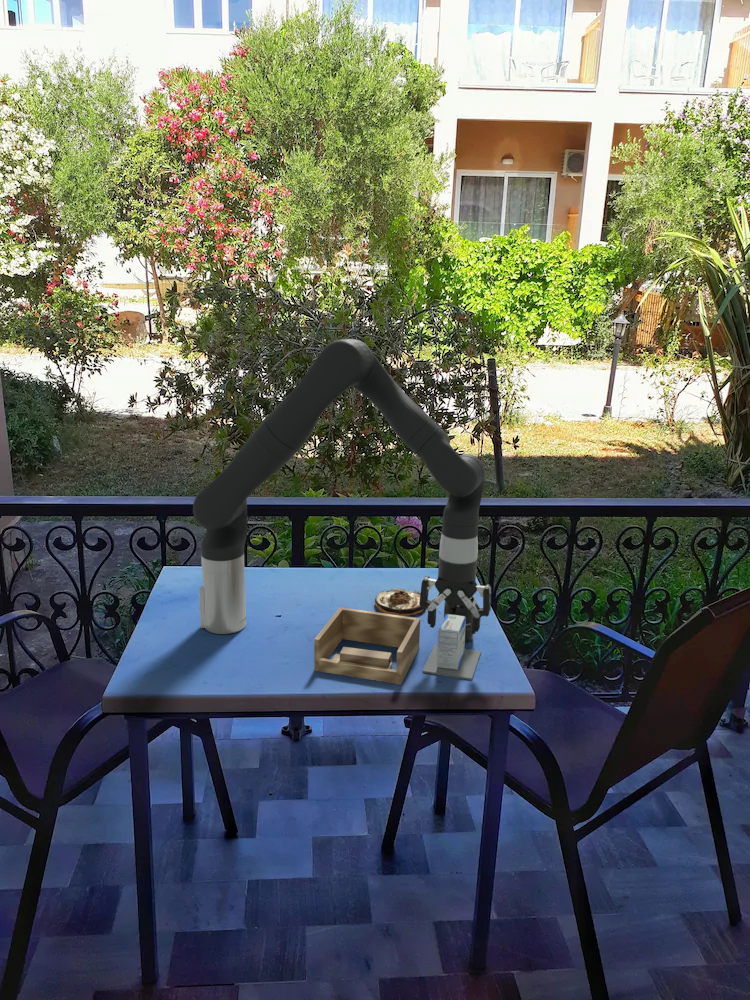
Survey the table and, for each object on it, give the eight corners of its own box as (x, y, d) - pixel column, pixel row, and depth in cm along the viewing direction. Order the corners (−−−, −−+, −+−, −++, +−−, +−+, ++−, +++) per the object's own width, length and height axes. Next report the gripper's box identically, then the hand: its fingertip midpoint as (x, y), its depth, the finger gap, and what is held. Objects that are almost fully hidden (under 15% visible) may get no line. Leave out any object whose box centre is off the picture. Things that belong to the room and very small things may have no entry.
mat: (422, 672, 162) (422, 670, 162) (434, 646, 173) (434, 644, 173) (471, 680, 160) (471, 678, 159) (480, 653, 171) (481, 651, 171)
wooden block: (330, 669, 163) (330, 651, 161) (336, 661, 166) (336, 644, 164) (388, 678, 160) (388, 660, 158) (392, 670, 163) (392, 653, 161)
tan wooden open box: (314, 670, 162) (314, 639, 160) (339, 636, 177) (339, 607, 175) (400, 684, 157) (401, 652, 155) (419, 648, 172) (420, 618, 170)
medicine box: (457, 671, 162) (460, 632, 160) (436, 667, 163) (437, 629, 161) (464, 653, 169) (466, 615, 167) (443, 650, 171) (445, 613, 168)
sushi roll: (426, 624, 184) (426, 607, 183) (363, 616, 188) (363, 600, 187) (436, 598, 198) (437, 583, 197) (377, 592, 201) (378, 576, 200)
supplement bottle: (461, 647, 173) (464, 595, 170) (436, 637, 177) (438, 587, 174) (479, 636, 178) (482, 586, 175) (454, 627, 182) (457, 578, 179)
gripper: (418, 557, 158) (415, 631, 163) (491, 566, 154) (485, 642, 159) (427, 544, 165) (423, 616, 169) (496, 553, 161) (490, 626, 166)
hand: (453, 629), depth 164 cm, fingers open, 8 cm apart
